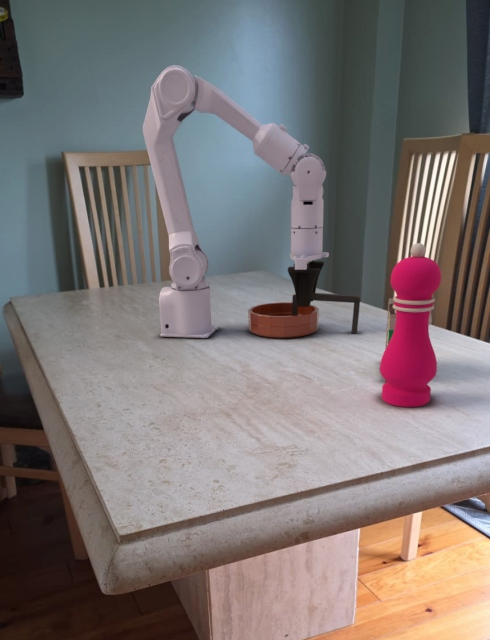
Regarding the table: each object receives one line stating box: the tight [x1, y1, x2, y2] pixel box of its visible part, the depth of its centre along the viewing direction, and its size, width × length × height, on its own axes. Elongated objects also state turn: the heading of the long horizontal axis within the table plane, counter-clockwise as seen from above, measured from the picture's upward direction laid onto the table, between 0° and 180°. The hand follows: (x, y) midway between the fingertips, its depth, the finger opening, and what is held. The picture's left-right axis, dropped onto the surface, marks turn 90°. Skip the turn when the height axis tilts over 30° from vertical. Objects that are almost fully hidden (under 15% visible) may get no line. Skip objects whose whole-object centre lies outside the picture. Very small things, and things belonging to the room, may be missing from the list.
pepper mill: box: [379, 242, 442, 408], centre depth 79 cm, size 7×7×20 cm
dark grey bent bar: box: [291, 292, 361, 334], centre depth 117 cm, size 16×5×7 cm, turn 76°
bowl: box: [247, 301, 319, 339], centre depth 119 cm, size 13×13×4 cm
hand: (305, 303), depth 117 cm, fingers open, 4 cm apart
